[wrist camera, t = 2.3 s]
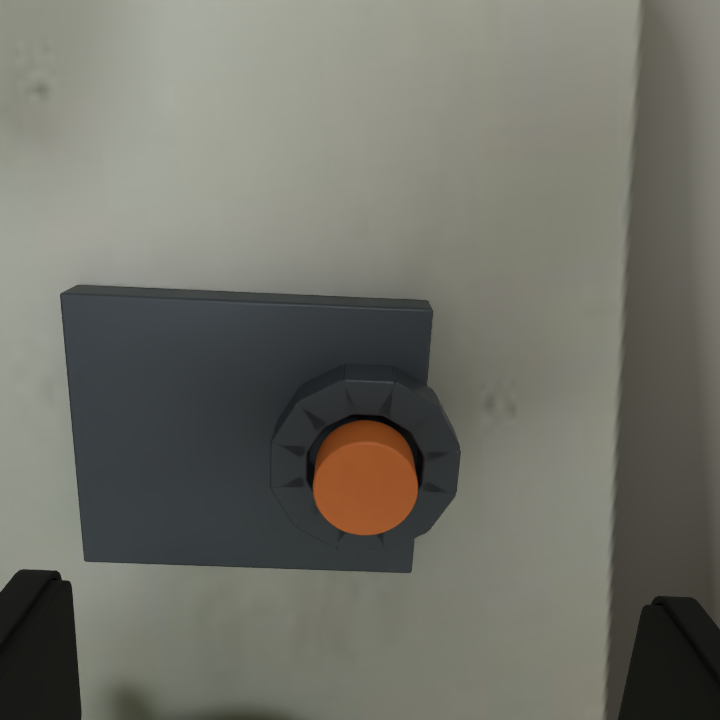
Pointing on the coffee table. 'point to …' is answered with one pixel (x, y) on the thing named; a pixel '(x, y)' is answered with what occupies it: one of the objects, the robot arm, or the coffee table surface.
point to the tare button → (365, 478)
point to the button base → (243, 423)
